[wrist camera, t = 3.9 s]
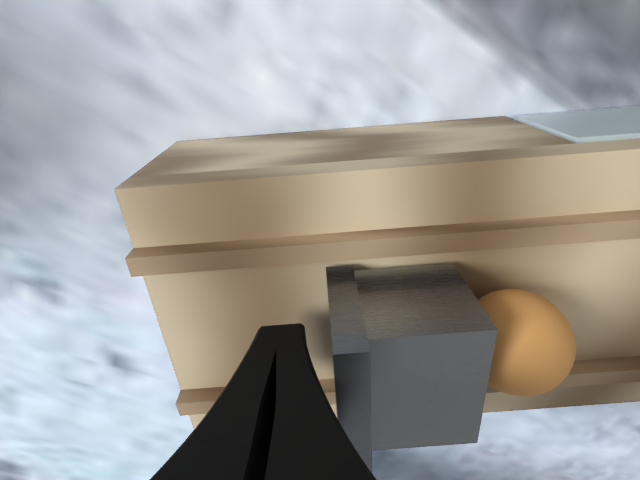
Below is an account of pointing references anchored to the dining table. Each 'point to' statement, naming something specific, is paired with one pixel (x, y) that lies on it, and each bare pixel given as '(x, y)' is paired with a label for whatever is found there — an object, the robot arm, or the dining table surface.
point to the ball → (528, 342)
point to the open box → (588, 124)
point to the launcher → (387, 239)
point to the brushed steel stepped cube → (408, 356)
